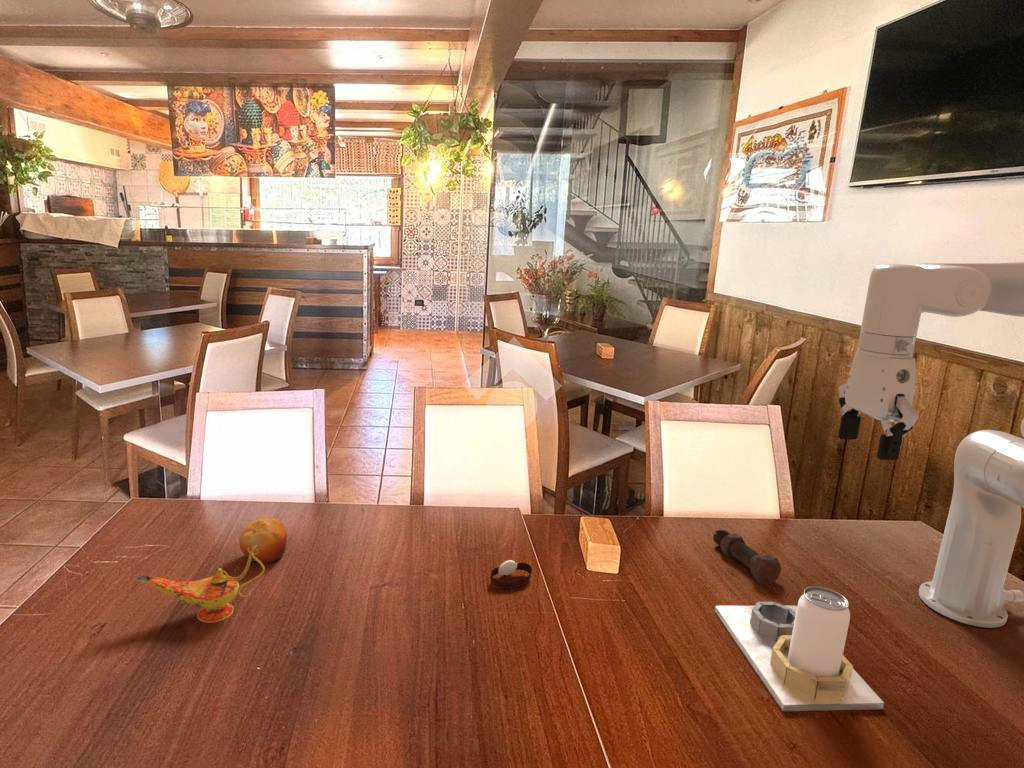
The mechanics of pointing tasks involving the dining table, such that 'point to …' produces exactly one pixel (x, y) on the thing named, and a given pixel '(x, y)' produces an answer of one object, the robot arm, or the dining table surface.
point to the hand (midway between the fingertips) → (866, 448)
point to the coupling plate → (767, 650)
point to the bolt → (749, 557)
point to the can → (819, 632)
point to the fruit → (264, 539)
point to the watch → (507, 569)
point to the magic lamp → (206, 591)
